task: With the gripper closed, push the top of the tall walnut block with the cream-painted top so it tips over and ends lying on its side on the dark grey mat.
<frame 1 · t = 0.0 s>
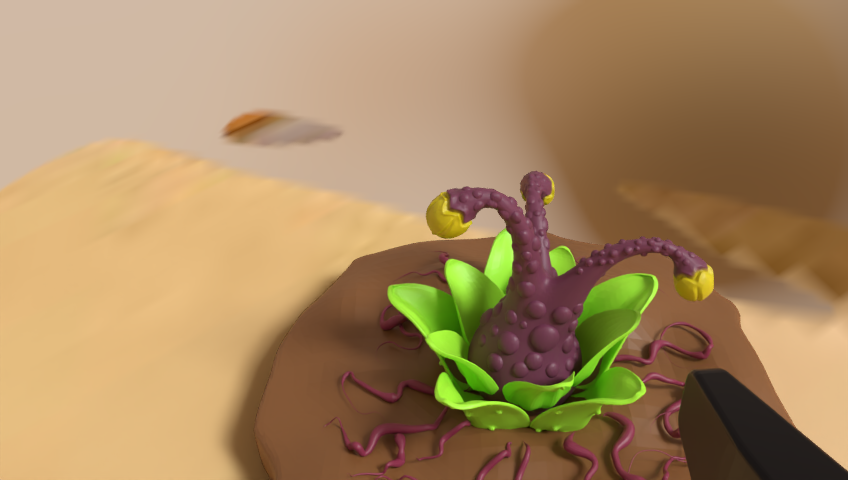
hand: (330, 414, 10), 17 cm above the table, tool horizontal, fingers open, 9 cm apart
plant: (514, 425, 32), on the table
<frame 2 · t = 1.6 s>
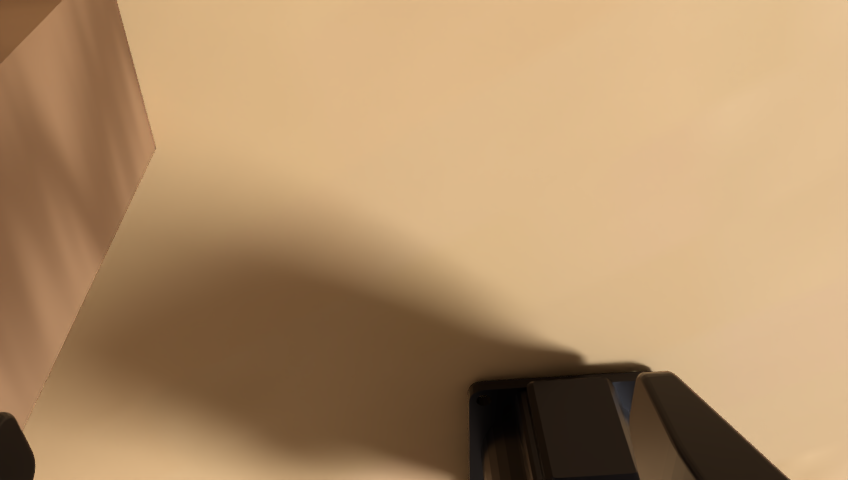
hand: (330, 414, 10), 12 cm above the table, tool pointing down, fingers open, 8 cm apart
walnut block: (31, 65, 20), on the table
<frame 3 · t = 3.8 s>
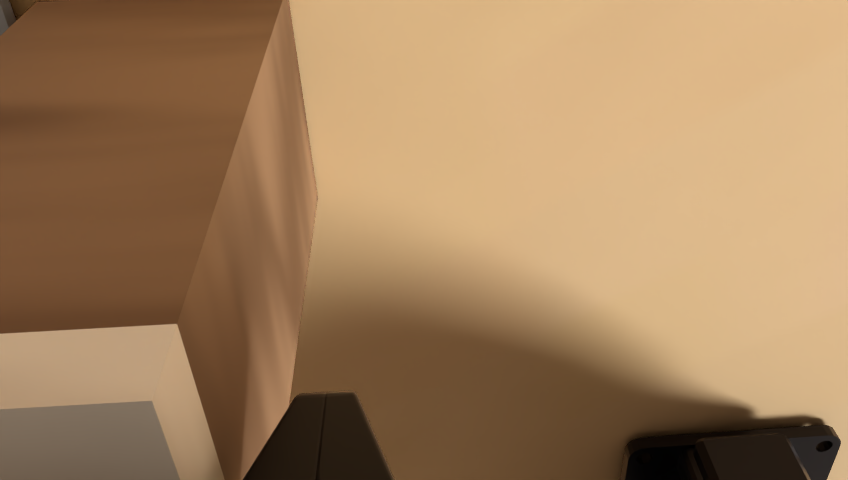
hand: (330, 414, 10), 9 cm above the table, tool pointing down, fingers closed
walnut block: (189, 108, 17), on the table, touching gripper
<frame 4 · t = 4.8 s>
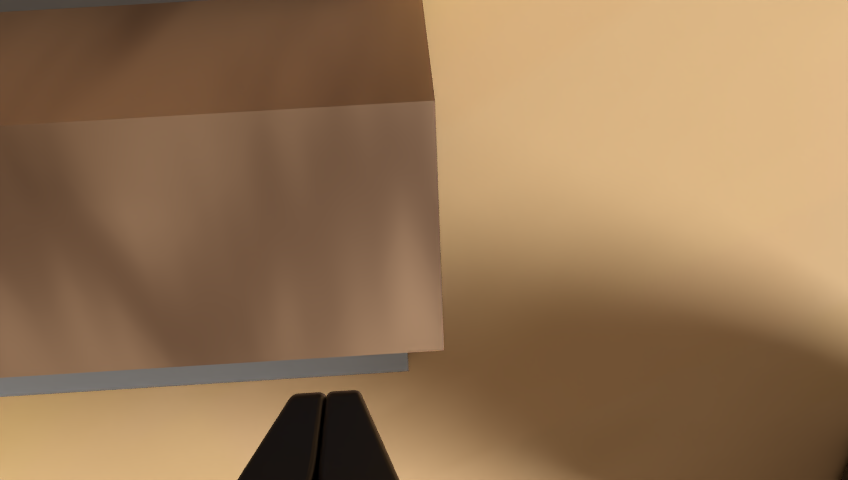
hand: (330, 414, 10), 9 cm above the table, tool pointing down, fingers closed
grey mat: (67, 116, 17), on the table
walnut block: (431, 162, 15), point 3 cm above the table, tilted 90°, touching grey mat
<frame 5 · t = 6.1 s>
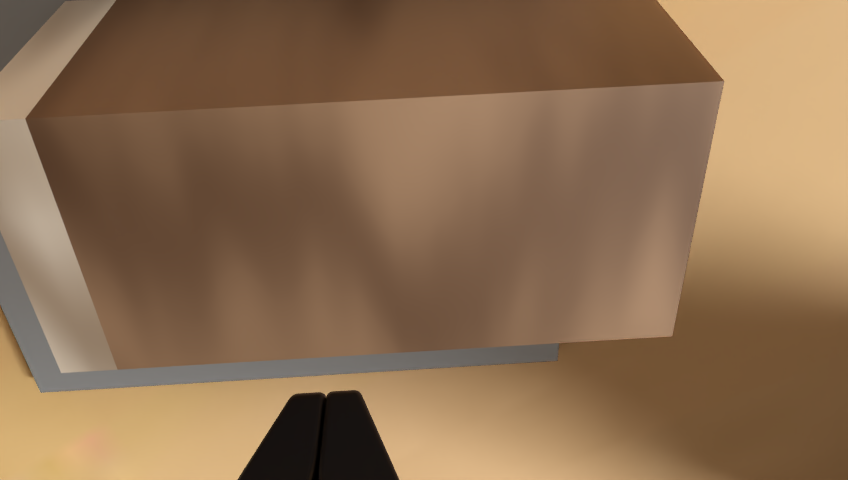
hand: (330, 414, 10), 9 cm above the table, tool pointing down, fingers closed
grey mat: (254, 101, 17), on the table
walnut block: (651, 147, 15), point 3 cm above the table, tilted 90°, touching grey mat
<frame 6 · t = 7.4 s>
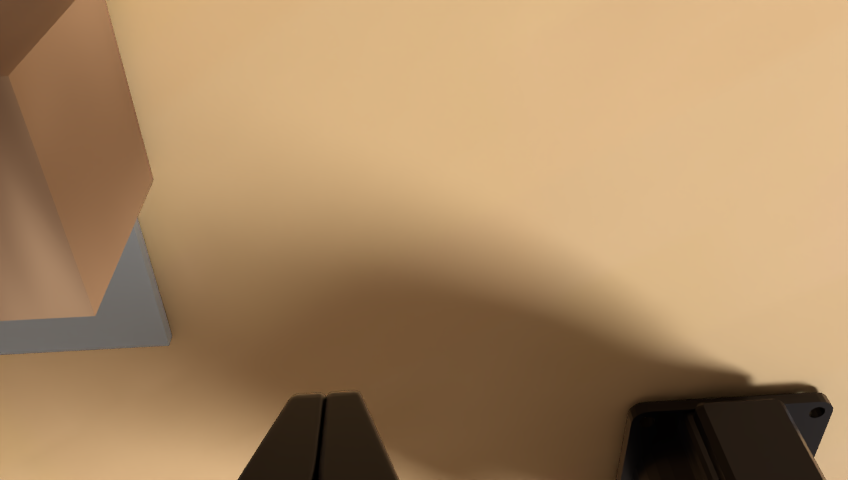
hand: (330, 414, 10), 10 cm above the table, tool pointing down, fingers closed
walnut block: (96, 139, 16), point 3 cm above the table, tilted 90°, touching grey mat
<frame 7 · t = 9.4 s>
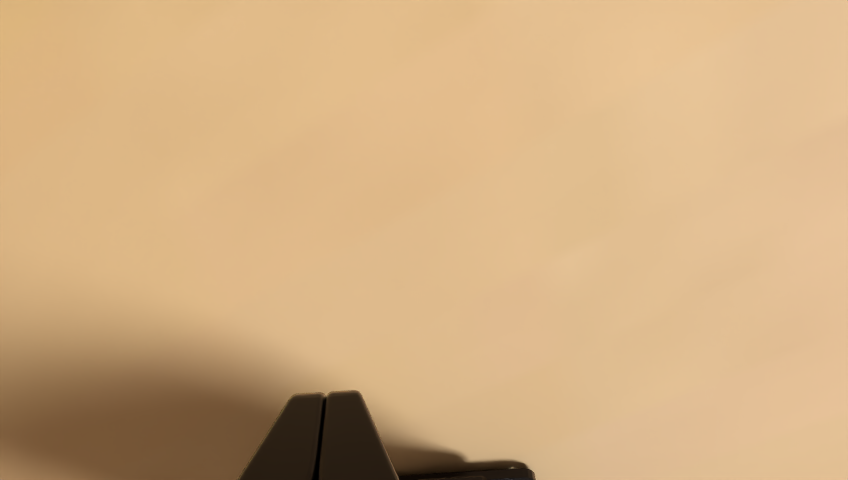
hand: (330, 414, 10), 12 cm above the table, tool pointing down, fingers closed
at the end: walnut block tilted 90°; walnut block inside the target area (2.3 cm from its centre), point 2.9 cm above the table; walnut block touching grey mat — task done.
